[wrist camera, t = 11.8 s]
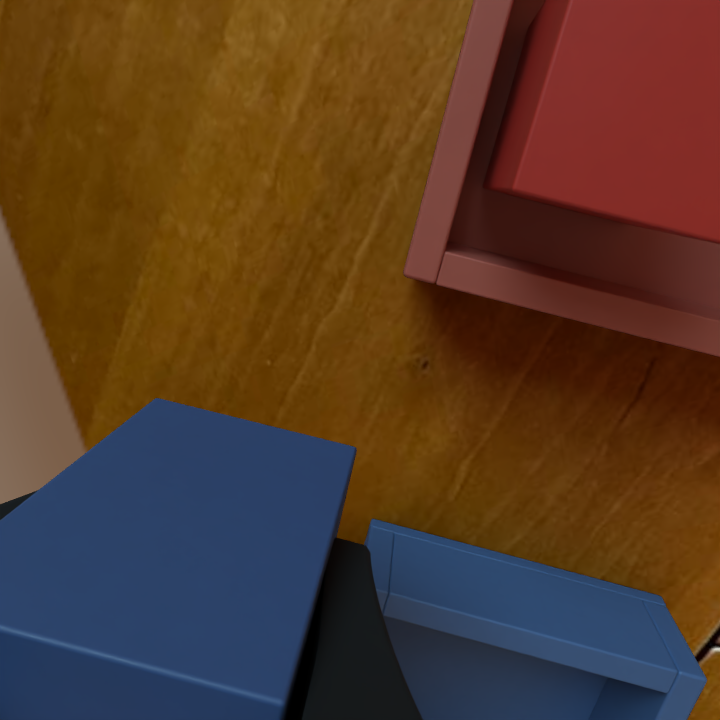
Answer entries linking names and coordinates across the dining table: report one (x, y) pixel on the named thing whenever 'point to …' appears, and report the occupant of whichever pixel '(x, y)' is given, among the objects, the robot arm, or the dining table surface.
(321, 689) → the robot arm
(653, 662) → the blue bin
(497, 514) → the dining table surface
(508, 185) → the red block
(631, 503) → the dining table surface
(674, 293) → the red bin
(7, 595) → the blue block
